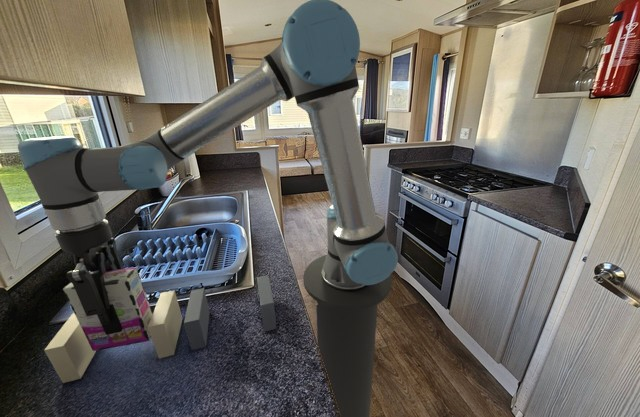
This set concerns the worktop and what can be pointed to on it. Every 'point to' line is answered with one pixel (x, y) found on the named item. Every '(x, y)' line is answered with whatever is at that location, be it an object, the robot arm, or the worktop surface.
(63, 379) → the cream book
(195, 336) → the grey book
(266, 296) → the grey book
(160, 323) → the cream book
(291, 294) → the worktop surface
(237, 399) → the worktop surface
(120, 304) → the candy bar box
